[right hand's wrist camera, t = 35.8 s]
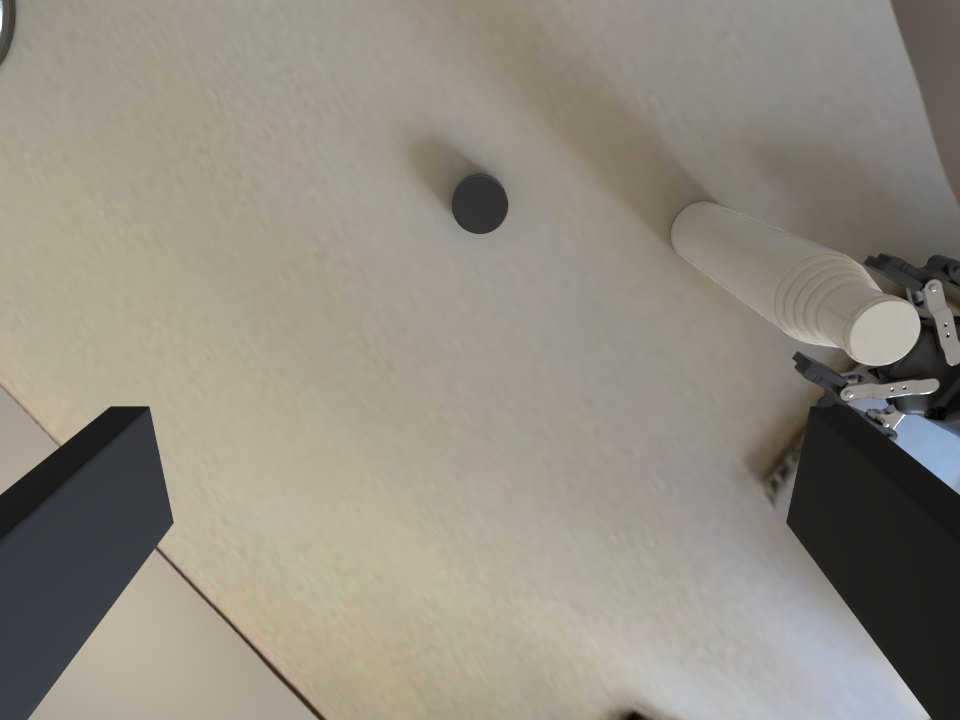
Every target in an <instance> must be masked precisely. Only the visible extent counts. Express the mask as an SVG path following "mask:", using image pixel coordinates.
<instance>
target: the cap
mask: <svg viewBox="0 0 960 720" xmlns="http://www.w3.org/2000/svg"><path fill="white" fill-rule="evenodd" d="M452 211H453V215H454V217H455V219H456V221H457V222H458V224H459V225H460V226H461V227H462V228H464V229H465V230H467V231H469V232H471V233H475V234H485V233H489V232H491V231H493V230H495V229H496V228H498V227H499V226H500V225H501V224H502V222H503V221H504V219H505V217H506V215H507V211H508V200H507V196H506V193H505V190H504V188H503V186H502V185H501V184H500V183H499V182H498V181H497V180H496V179H495V178H493V177H491V176H489V175H485V174H475V175H471V176H469V177H467V178H465V179H464V180H463V181H462V182H460V184H459V185H458V186H457V188H456V190H455V193H454V196H453V200H452Z"/></svg>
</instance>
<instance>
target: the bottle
mask: <svg viewBox="0 0 960 720" xmlns="http://www.w3.org/2000/svg"><path fill="white" fill-rule="evenodd" d="M671 242H672V246H673V248H674V250H675V251H676V253H677V254H678V255H679V256H680V257H682V258H683V259H684V260H686V261H687V262H689V263H690V264H691V265H693V266H694V267H695V268H697V269H698V270H700V271H701V272H702V273H704V274H705V275H706V276H708V277H709V278H711V279H712V280H713V281H715V282H716V283H717V284H719V285H720V286H721V287H723V288H724V289H726V290H727V291H728V292H730V293H731V294H732V295H734V296H735V297H737V298H738V299H739V300H741V301H742V302H743V303H745V304H746V305H748V306H749V307H750V308H752V309H753V310H754V311H756V312H757V313H759V314H760V315H761V316H763V317H764V318H765V319H767V320H768V321H769V322H771V323H772V324H774V325H775V326H776V327H778V328H779V329H780V330H782V331H783V332H785V333H786V334H787V335H789V336H791V337H793V338H795V339H798V340H800V341H802V342H806V343H810V344H816V345H823V346H831V347H836V348H841V349H842V350H844V351H845V352H846V353H847V354H848V355H849V356H850V357H851V358H852V359H854V360H855V361H857V362H860V363H863V364H867V365H872V366H881V365H887V364H890V363H893V362H895V361H897V360H899V359H900V358H902V357H903V356H905V355H906V354H907V353H908V352H909V351H910V350H911V349H912V347H913V346H914V345H915V343H916V341H917V339H918V336H919V333H920V319H919V316H918V313H917V311H916V310H915V308H914V306H913V305H911V304H910V303H909V302H908V301H906V300H903V299H902V298H899V297H897V296H894V295H887V294H885V293H883V292H882V291H881V289H880V288H879V287H878V286H877V284H876V283H875V282H874V280H873V279H872V278H871V276H870V275H869V274H868V273H867V271H866V270H865V269H864V268H863V267H862V266H861V265H860V264H859V263H857V262H856V261H855V260H853V259H852V258H850V257H849V256H847V255H844V254H842V253H839V252H837V251H834V250H832V249H829V248H827V247H824V246H822V245H819V244H817V243H814V242H812V241H809V240H807V239H804V238H802V237H799V236H796V235H794V234H791V233H789V232H786V231H784V230H781V229H779V228H776V227H774V226H771V225H769V224H766V223H764V222H761V221H759V220H756V219H753V218H751V217H748V216H746V215H743V214H741V213H738V212H736V211H733V210H731V209H728V208H726V207H723V206H721V205H718V204H716V203H712V202H704V201H703V202H697V203H694V204H691V205H689V206H688V207H686V208H685V209H683V210H682V211H681V212H680V213H679V214H678V216H677V217H676V219H675V221H674V223H673V225H672V229H671Z"/></svg>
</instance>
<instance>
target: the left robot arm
mask: <svg viewBox="0 0 960 720" xmlns="http://www.w3.org/2000/svg"><path fill="white" fill-rule="evenodd" d="M863 264H864V265H866V266H868V267H869V268H871V269H873V270H874V271H876V272H878V273H880V274H881V275H883V276H885V277H887V278H888V279H890V280H892V281H894V282H895V283H897V284H899V285H901V286H904V287H905V288H906V292H907V297H908V302H909V303H910V304H911V305H913V306H914V308H915V310H916V311H917V313H918V316H919V319H920V333H919V336H918V339H917V341H916V343H915V345H914V346H913V347H912V349H911V350H910V351H909V352H908V353H907V354H906V355H905V356H903V357H902V358H900V359H899V360H897V361H895V362H893V363H890V364H887V365H881V366H867V367H861V368H856V369H854V371H853V372H847V373H840V374H838V373H836V372H835V371H834V370H832V369H830V368H829V367H827V366H825V365H823V364H821V363H819V362H817V361H815V360H814V359H812V358H810V357H808V356H806V355H804V354H802V353H801V352H799V351H797V352H796V354H795V355H794V356H793V358H792V359H793V360H795V361H796V362H797V364H796V366H795V369H796V370H797V371H798V372H799V373H800V374H801V375H802V376H804V377H805V378H806V379H808V380H810V381H812V382H813V383H815V384H817V385H819V386H821V387H823V388H825V394H824V396H823V397H821V398H820V399H819V400H818V402H817V406H849V405H848V402H849V401H850V400H857V399H863V398H874V399H885V398H886V401H887V403H888V404H889V406H888V407H887V408H885V409H882V410H879V409H872V410H871V409H868V410H867V411H866V413H865V412H863V411H860V410H858V409H856V408H854V407H851V406H849V407H851V408H852V409H853V410H854V411H855V412H857V413H858V414H859V415H860V416H862V417H863V418H864V419H865V420H867V421H868V422H869V423H870V424H872V425H873V426H874V427H875V428H877V429H878V430H879V431H880V432H882V433H883V434H884V435H885V436H887V437H888V438H889V439H890V440H892V441H893V442H895V441H896V440H897V437H898V435H897V433H896V432H895V431H894V428H895V427H896V426H897V424H898V423H899V422H900V420H901V419H902V418H903V416H904V415H919V416H921V417H923V418H925V419H927V420H929V421H930V422H932V423H934V424H936V425H938V426H940V427H942V428H944V429H945V430H947V431H949V432H951V433H953V434H955V435H957V436H958V437H960V316H953V314H952V311H951V309H950V308H949V307H948V306H947V304H946V302H945V297H944V292H943V288H942V285H943V284H944V283H946V282H948V283H949V284H951V285H952V286H954V287H955V288H957V289H958V290H960V261H957V260H954V259H950V258H947V257H944V256H941V255H934V256H932V257H930V258H929V260H928V262H927V265H926V266H925V267H923V268H921V269H917V268H915V267H914V266H912V265H910V264H908V263H907V262H905V261H903V260H902V259H900V258H898V257H895V256H892V255H889V254H882V253H880V254H879V256H878V257H877V258H875V257H872V256H868V258H867V259H866V260H865V262H864V263H863Z"/></svg>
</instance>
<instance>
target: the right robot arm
mask: <svg viewBox="0 0 960 720" xmlns="http://www.w3.org/2000/svg"><path fill="white" fill-rule="evenodd" d="M14 26H15V0H0V65H1V64H2V62H3V60H4V59H5V57H6V55H7V52H8V50H9V47H10V44H11V41H12V37H13V32H14ZM173 523H174V522H173V517H172V512H171V508H170V503H169V498H168V493H167V489H166V484H165V479H164V474H163V469H162V465H161V460H160V455H159V450H158V446H157V441H156V436H155V431H154V426H153V422H152V417H151V412H150V407H149V406H111V407H109V408H108V409H107V410H106V411H105V412H103V413H102V414H101V415H100V416H98V417H97V418H96V419H95V420H93V421H92V422H91V423H90V424H88V425H87V426H86V427H85V428H83V429H82V430H81V431H80V432H78V433H77V434H76V435H75V436H73V437H72V438H71V439H70V440H68V441H67V442H66V443H65V444H63V445H62V446H61V447H60V448H58V449H57V450H56V451H55V452H53V453H52V454H51V455H50V456H48V457H47V458H46V459H45V460H43V461H42V462H41V463H40V464H38V465H37V466H36V467H35V468H34V469H32V470H31V471H30V472H28V473H27V474H26V475H25V476H23V477H22V478H21V479H20V480H18V481H17V482H16V483H15V484H13V485H12V486H11V487H10V488H9V489H7V490H6V491H5V492H4V493H2V494H1V495H0V720H28V718H29V717H30V716H31V714H32V713H33V712H34V710H35V709H36V708H37V706H38V705H39V704H40V702H41V701H42V700H43V698H44V697H45V696H46V694H47V693H48V691H49V690H50V689H51V687H52V686H53V685H54V683H55V682H56V681H57V679H58V678H59V677H60V675H61V674H62V673H63V671H64V670H65V669H66V667H67V666H68V665H69V663H70V662H71V661H72V659H73V658H74V656H75V655H76V654H77V652H78V651H79V650H80V648H81V647H82V646H83V644H84V643H85V642H86V640H87V639H88V638H89V636H90V635H91V634H92V632H93V631H94V630H95V628H96V627H97V626H98V624H99V623H100V621H101V620H102V619H103V617H104V616H105V615H106V613H107V612H108V611H109V609H110V608H111V607H112V605H113V604H114V603H115V601H116V600H117V599H118V597H119V596H120V595H121V593H122V592H123V590H124V589H125V588H126V586H127V585H128V584H129V582H130V581H131V580H132V578H133V577H134V576H135V574H136V573H137V572H138V570H139V569H140V568H141V566H142V565H143V563H144V562H145V561H146V559H147V558H148V557H149V555H150V554H151V553H152V551H153V550H154V549H155V547H156V546H157V545H158V543H159V542H160V541H161V539H162V538H163V537H164V535H165V534H166V533H167V531H168V530H169V529H170V527H171V526H172V524H173ZM786 523H787V524H788V526H789V527H790V529H791V530H792V531H793V533H794V534H795V535H796V537H797V538H798V539H799V541H800V542H801V543H802V545H803V546H804V547H805V549H806V550H807V551H808V553H809V554H810V555H811V557H812V558H813V560H814V561H815V562H816V564H817V565H818V566H819V568H820V569H821V570H822V572H823V573H824V574H825V576H826V577H827V578H828V580H829V581H830V582H831V584H832V585H833V586H834V588H835V589H836V590H837V592H838V593H839V595H840V596H841V597H842V599H843V600H844V601H845V603H846V604H847V605H848V607H849V608H850V609H851V611H852V612H853V613H854V615H855V616H856V617H857V619H858V620H859V621H860V623H861V624H862V626H863V627H864V628H865V630H866V631H867V632H868V634H869V635H870V636H871V638H872V639H873V640H874V642H875V643H876V644H877V646H878V647H879V648H880V650H881V651H882V652H883V654H884V655H885V656H886V658H887V659H888V661H889V662H890V663H891V665H892V666H893V667H894V669H895V670H896V671H897V673H898V674H899V675H900V677H901V678H902V679H903V681H904V682H905V683H906V685H907V686H908V687H909V689H910V690H911V692H912V693H913V694H914V696H915V697H916V698H917V700H918V701H919V702H920V704H921V705H922V706H923V708H924V709H925V710H926V712H927V713H928V714H929V716H930V717H931V718H932V720H960V495H959V494H958V493H956V492H955V491H954V490H953V489H951V488H950V487H949V486H948V485H947V484H945V483H944V482H943V481H942V480H940V479H939V478H938V477H937V476H935V475H934V474H933V473H932V472H930V471H929V470H928V469H927V468H925V467H924V466H923V465H922V464H920V463H919V462H918V461H917V460H915V459H914V458H913V457H912V456H910V455H909V454H908V453H907V452H905V451H904V450H903V449H902V448H900V447H899V446H898V445H897V444H895V443H894V442H893V441H892V440H890V439H889V438H888V437H887V436H885V435H884V434H883V433H882V432H880V431H879V430H878V429H877V428H875V427H874V426H873V425H872V424H870V423H869V422H868V421H867V420H865V419H864V418H863V417H862V416H860V415H859V414H858V413H857V412H855V411H854V410H853V409H852V408H851V407H849V406H811V407H810V412H809V417H808V422H807V426H806V431H805V436H804V441H803V446H802V450H801V455H800V460H799V465H798V469H797V474H796V479H795V484H794V489H793V493H792V498H791V503H790V508H789V512H788V517H787V522H786Z"/></svg>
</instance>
